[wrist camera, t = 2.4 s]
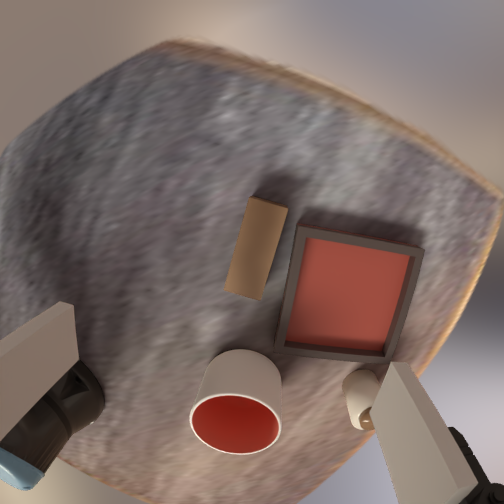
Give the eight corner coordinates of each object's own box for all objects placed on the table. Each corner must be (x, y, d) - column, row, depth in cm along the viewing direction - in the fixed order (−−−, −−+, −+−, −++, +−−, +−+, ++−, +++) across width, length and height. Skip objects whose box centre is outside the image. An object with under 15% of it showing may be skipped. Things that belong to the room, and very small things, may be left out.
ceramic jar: (337, 396, 39) (347, 435, 32) (348, 368, 38) (361, 405, 30) (369, 398, 39) (383, 434, 31) (381, 370, 38) (398, 405, 30)
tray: (273, 342, 38) (273, 352, 36) (296, 223, 35) (298, 226, 32) (383, 354, 37) (389, 364, 35) (416, 245, 34) (424, 249, 32)
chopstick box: (228, 278, 37) (223, 290, 33) (252, 195, 34) (249, 197, 31) (261, 288, 37) (260, 300, 33) (286, 205, 34) (288, 208, 31)
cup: (232, 330, 38) (219, 376, 28) (296, 370, 39) (301, 420, 29) (193, 380, 40) (174, 428, 31) (253, 414, 41) (247, 464, 31)
